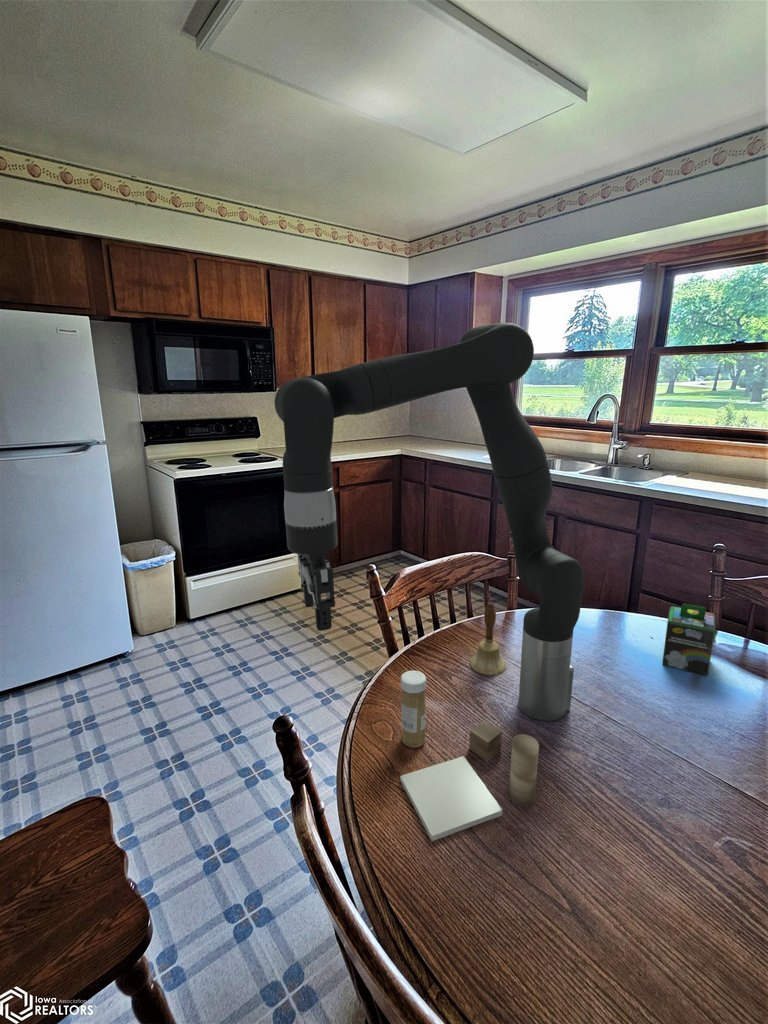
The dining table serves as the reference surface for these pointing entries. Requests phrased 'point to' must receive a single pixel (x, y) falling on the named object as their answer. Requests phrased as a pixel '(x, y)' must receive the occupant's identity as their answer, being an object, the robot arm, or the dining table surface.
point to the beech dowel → (523, 769)
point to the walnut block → (485, 740)
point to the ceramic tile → (449, 797)
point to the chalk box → (689, 638)
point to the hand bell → (488, 648)
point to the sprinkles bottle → (413, 708)
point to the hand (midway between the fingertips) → (317, 616)
